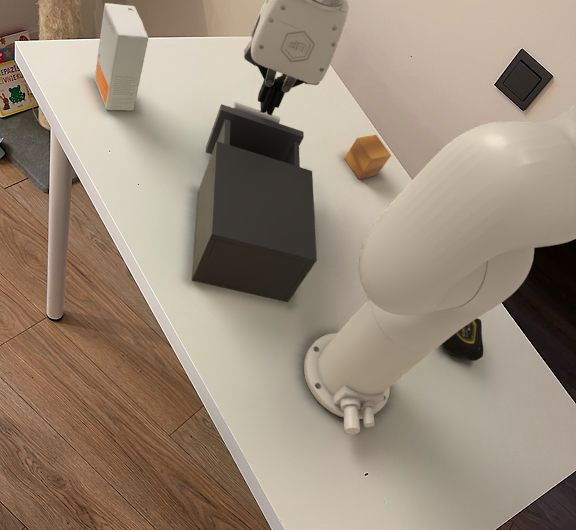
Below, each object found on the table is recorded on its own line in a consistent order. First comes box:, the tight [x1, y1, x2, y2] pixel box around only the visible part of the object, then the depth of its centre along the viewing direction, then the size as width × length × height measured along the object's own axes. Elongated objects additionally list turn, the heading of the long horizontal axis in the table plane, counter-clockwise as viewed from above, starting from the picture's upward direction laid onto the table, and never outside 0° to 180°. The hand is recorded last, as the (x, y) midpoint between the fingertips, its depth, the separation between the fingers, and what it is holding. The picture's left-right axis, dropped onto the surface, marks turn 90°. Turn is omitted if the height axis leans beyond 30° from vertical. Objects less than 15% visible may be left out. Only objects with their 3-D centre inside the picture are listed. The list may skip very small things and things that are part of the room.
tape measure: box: [441, 317, 484, 362], centre depth 90 cm, size 7×7×4 cm
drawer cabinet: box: [191, 141, 318, 303], centre depth 80 cm, size 16×14×10 cm
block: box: [344, 134, 392, 180], centre depth 100 cm, size 5×5×5 cm
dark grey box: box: [205, 101, 305, 167], centre depth 85 cm, size 19×12×8 cm, turn 1°
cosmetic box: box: [93, 2, 149, 111], centre depth 82 cm, size 6×4×12 cm
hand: (265, 107), depth 84 cm, fingers closed
